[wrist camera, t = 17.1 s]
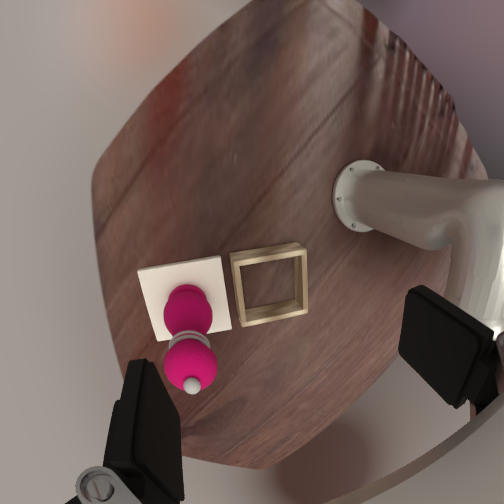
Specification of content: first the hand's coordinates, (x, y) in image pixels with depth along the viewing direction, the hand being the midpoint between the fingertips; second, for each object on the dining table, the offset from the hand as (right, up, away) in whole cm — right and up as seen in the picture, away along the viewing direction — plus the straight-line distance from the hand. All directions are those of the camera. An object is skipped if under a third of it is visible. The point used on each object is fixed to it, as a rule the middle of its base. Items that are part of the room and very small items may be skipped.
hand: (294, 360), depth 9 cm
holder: (+1, -1, +38) cm, 37 cm away
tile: (-12, -4, +36) cm, 38 cm away
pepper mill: (-12, -4, +35) cm, 37 cm away
